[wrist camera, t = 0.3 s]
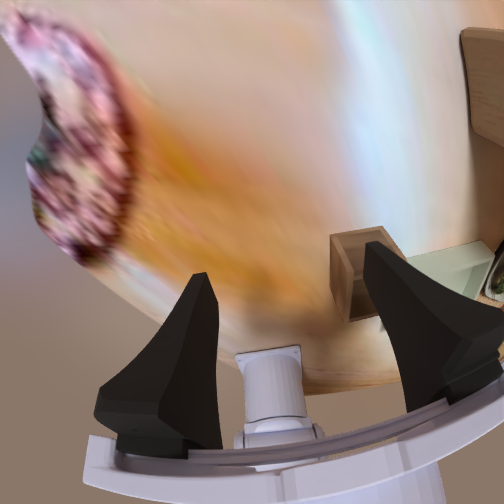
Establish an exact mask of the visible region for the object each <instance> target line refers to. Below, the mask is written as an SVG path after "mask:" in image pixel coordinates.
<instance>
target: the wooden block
mask: <svg viewBox="0 0 504 504" xmlns="http://www.w3.org/2000/svg"><path fill="white" fill-rule="evenodd" d="M461 41H462V46H463V51H464V57H465V63H466V69H467V76H468V85H469V95H470V108H471V124H472V128H473V130H474V131H475V132H476V133H477V134H479V135H481V136H483V137H485V138H486V139H488V140H490V141H492V142H494V143H496V144H498V145H500V146H501V147H503V148H504V30H500V29H490V28H475V27H468V28H466V29H464V30H462V31H461Z"/></svg>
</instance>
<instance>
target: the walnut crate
mask: <svg viewBox="0 0 504 504" xmlns="http://www.w3.org/2000/svg"><path fill="white" fill-rule="evenodd" d="M372 241H379V242H380V243H382V244H383V245H385V246H386V247H387V248H389V249H390V250H391V251H393V252H394V253H395V254H397V255H398V256H399V257H401V258H402V259H404V260H405V261H406V262H407V259H406V257H405V256H404V255H403V253H402V252H401V250H400V249H399V248H398V246H397V245H396V244H395V242H394V241H393V239H392V238H391V237H390V235H389V234H388V233H387V231H386V230H385V229H384V227H383V226H378V227H372V228H366V229H360V230H354V231H348V232H343V233H337V234H331V235H330V288H331V290H332V293H333V296H334V299H335V302H336V304H337V307H338V310H339V313H340V316H341V319H342V322H343V324H345V323H349V322H353V321H358V320H362V319H366V318H370V317H374V316H378V315H379V314H378V312H377V310H376V308H375V306H374V304H373V302H372V300H371V298H370V296H369V293H368V291H367V288H366V285H365V282H364V279H363V267H364V256H365V243H367V242H372Z"/></svg>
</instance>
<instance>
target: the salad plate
mask: <svg viewBox="0 0 504 504" xmlns="http://www.w3.org/2000/svg"><path fill="white" fill-rule="evenodd" d="M494 255H495V258H494V260H493V263H492V265H491V268H490V270H489V273H488V275H487V277H486V280H485V282H484V284H483V292H484V294H485V295H486V296H487V297H489V298H492V299H495V300H496V301H500V302H504V241H503V242H502V243H501V245H500V246H499V248H498V249H497V251H496V252H495V254H494Z"/></svg>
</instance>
